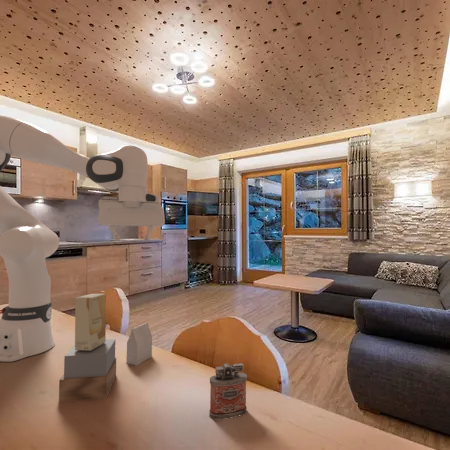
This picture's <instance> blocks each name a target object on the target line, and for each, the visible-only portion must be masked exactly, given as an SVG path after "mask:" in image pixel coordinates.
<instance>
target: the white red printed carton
mask: <svg viewBox="0 0 450 450" xmlns="http://www.w3.org/2000/svg"><path fill="white" fill-rule="evenodd" d="M152 355H153V334H152V332H151V328H150V326H149V323H148V322H145V323H142V324H140V325H138V326H135V327H133V328H131V331H130V334H129V337H128V339H127V341H126V364H129V365H133V366H139V365H140V364H142V363H143V362H145V361H147V360H148V359H150V358H151V357H152Z"/></svg>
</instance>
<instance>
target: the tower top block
mask: <svg viewBox="0 0 450 450" xmlns="http://www.w3.org/2000/svg"><path fill="white" fill-rule="evenodd" d="M115 358H116V338H113V339H106V342H105V343H103V344H102V345H100V346H98V347H96V348H94V349H93V350H91V351H88V350H75V344H74V345H73V347H72V348H70V350H68V352H67V353H66V354H65V355H64V358H63V359H64V360H63V361H64V362H63V363H64V364H63V365H64V366H63V367H64V368H63V375H64V379H65V378H81V377H96V376H106V375H107V373H108V371H109V369H110V367H111V365H112V364H113V362H114V360H115Z"/></svg>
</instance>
